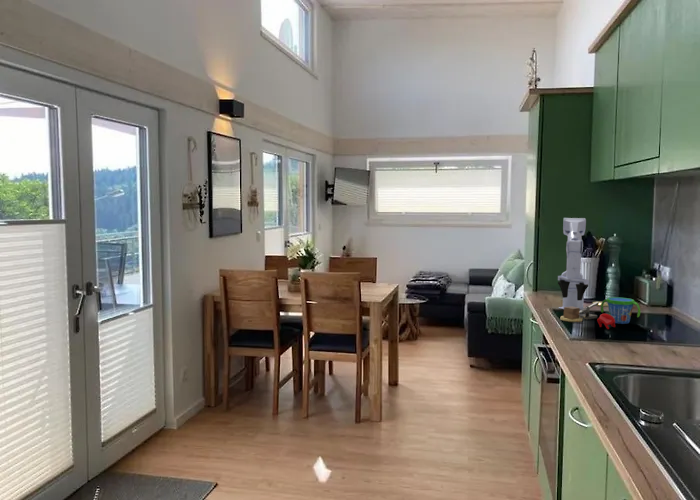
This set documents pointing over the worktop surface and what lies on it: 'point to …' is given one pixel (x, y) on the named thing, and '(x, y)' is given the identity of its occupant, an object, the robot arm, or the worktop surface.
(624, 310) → the snack cup
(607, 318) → the red toy piece
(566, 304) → the robot arm
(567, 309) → the block
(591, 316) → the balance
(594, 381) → the worktop surface
